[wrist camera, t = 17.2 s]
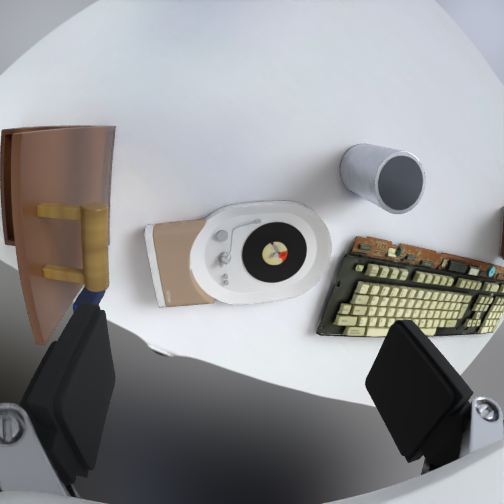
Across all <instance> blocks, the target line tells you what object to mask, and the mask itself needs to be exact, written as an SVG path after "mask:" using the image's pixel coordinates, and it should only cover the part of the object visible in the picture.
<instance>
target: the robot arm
mask: <svg viewBox="0 0 504 504" xmlns="http://www.w3.org/2000/svg"><path fill="white" fill-rule="evenodd" d="M114 385H115V371H114V366H113V360H112V354H111V348H110V342H109V335H108V328H107V320H106V313H105V311H104V310H100V307H99V305H97V304H89V303H80V304H79V305H78V307H77V309H76V310H75V312H74V314H73V315H72V317H71V318H70V320H69V322H68V324H67V325H66V327H65V329H64V330H63V332H62V334H61V336H60V337H59V339H58V341H54V342H52V344H51V345H50V347H49V348H48V350H47V352H46V354H45V355H44V357H43V359H42V361H41V363H40V365H39V366H38V368H37V370H36V372H35V374H34V376H33V378H32V380H31V382H30V384H29V386H28V388H27V390H26V392H25V394H24V396H23V398H22V400H21V402H20V404H19V406H18V405H16V404H12V403H1V404H0V504H106V503H100V502H94V501H89V500H84V499H81V497H80V495H79V494H78V492H77V491H76V489H75V487H74V486H73V483H75V480H76V475H78V476H82V477H86V478H87V476H88V471H89V470H93V469H94V468H95V464H96V459H97V455H98V449H99V445H100V441H101V436H102V432H103V428H104V424H105V419H106V415H107V411H108V407H109V404H110V400H111V396H112V392H113V389H114ZM365 385H366V389H367V391H368V392H369V394H370V396H371V398H372V400H373V402H374V404H375V405H376V407H377V409H378V411H379V413H380V415H381V417H382V419H383V420H384V422H385V424H386V426H387V428H388V430H389V432H390V434H391V436H392V438H393V439H394V442H395V444H396V445H397V447H398V449H399V451H400V453H401V455H402V456H405V458H406V460H407V462H408V463H409V462H412V461H415V460H418V459H420V458H421V457H422V456H423V455H424V457H425V461H424V465H423V469H422V473H421V475H420V476H418V477H416V478H412V479H410V480H407V481H404V482H401V483H398V484H395V485H393V486H389V487H386V488H383V489H380V490H377V491H374V492H370V493H366V494H363V495H359V496H355V497H351V498H347V499H343V500H338V501H333V502H328V503H323V504H504V420H503V414H502V410H501V408H500V406H499V405H498V404H497V403H496V402H495V401H494V400H492V399H491V398H489V397H486V396H477V397H475V398H474V399H473V401H472V402H471V403H469V401H468V400H469V399H470V397H471V396H472V394H473V391H472V390H471V389H470V388H469V386H468V385H467V384H466V383H465V381H464V380H463V379H462V378H461V376H460V375H459V374H458V373H457V371H456V370H455V369H454V368H453V367H452V365H451V364H450V363H449V362H448V361H447V359H446V358H445V357H444V356H443V355H442V354H441V352H440V351H439V350H438V349H437V348H436V347H435V345H434V344H433V343H432V342H431V341H430V340H429V338H428V337H427V336H426V335H425V334H424V333H423V332H422V330H421V329H420V328H419V327H418V326H417V325H416V324H415V323H414V322H413V321H412V320H409V319H408V320H396V321H395V322H394V324H392V325H391V326H390V328H389V330H388V333H387V335H386V337H385V340H384V342H383V344H382V346H381V349H380V351H379V353H378V355H377V357H376V359H375V361H374V363H373V366H372V368H371V370H370V372H369V374H368V376H367V378H366V381H365Z"/></svg>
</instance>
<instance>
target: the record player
mask: <svg viewBox="0 0 504 504" xmlns="http://www.w3.org/2000/svg"><path fill="white" fill-rule="evenodd" d="M145 242H146V247H147V253H148V258H149V264H150V269H151V274H152V279H153V284H154V288H155V293H156V298H157V302H158V306H159V308H161V307H175V306H187V305H199V304H210V303H214V302H215V299H217V300H219V301H221V302H224V303H228V304H234V305H243V304H255V303H264V302H273V301H280V300H286V299H291V298H295V297H297V296H300V295H302V294H304V293H305V292H307V291H308V290H310V289H311V288H312V287H313V286H315V285H316V284H317V283H318V281H319V280H320V279H321V278H322V276H323V275H324V273H325V272H326V270H327V268H328V265H329V262H330V259H331V253H332V242H331V237H330V233H329V230H328V228H327V226H326V225H325V223H324V222H323V220H322V219H321V218H320V217H319V216H318V215H317V214H316V213H315V212H313V211H312V210H311V209H310V208H308V207H306V206H305V205H302V204H300V203H297V202H293V201H267V202H253V203H242V204H234V205H229V206H225V207H222V208H220V209H218V210H216V211H215V212H213V213H212V214H210V215H209V216H208V217H207V218H206V219H199V220H188V221H178V222H168V223H159V224H149V225H147V226H146V229H145Z"/></svg>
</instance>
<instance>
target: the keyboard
mask: <svg viewBox="0 0 504 504" xmlns="http://www.w3.org/2000/svg"><path fill="white" fill-rule="evenodd" d="M338 281H341V282H340V285H339V287H336V284H337V283H338ZM472 297H473V298H472ZM471 298H472V299H471ZM503 312H504V267H500V266H496V265H492V264H487V265H486V264H484V262H480V261H476V260H472V259H468V258H463V257H459V256H455V255H450V254H446V253H441V254H439V253H436V251H433V250H428V249H424V248H419V247H415V246H410V245H405V244H399V246H393V245H392V242H391V241H386V240H382V239H377V238H372V237H367V238H362V237H356V239H355V242H354V245H353V249H352V252H351V254H350V256H349V255H345V257H344V260H343V263H342V265H341V268H340V271H339V274H338V276H337V280H336V282H335V285H334V288H333V291H332V293H331V296H330V298H329V301H328V303H327V306H326V309H325V312H324V315H323V317H322V320H321V322H320V325H319V327H318V330H317V332H316V334H319V335H321V336H346V337H386V335H387V333H388V330H389V328H390V326H391V325H392V324H394V322H395V321H396V320H408V319H409V320H412V321H413V322H414V323H415V324H416V325H417V326H418V327H419V328H420V329H421V330H422V332H423V333H424V334H425V335H426V336H449V335H468V333H469V334H482V333H492V332H494V331H495V329H496V327H497V325H498V323H499V319H500V318H502V316H503ZM322 323H325V324H324V326H323V328H320V326H321V325H322ZM457 326H458V327H457ZM476 332H477V333H476ZM320 333H323V334H320ZM461 333H467V334H461ZM329 334H344V335H329Z"/></svg>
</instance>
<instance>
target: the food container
mask: <svg viewBox="0 0 504 504" xmlns="http://www.w3.org/2000/svg"><path fill="white" fill-rule="evenodd" d="M499 257H501V258H502V259H503V260H504V207H503V208H502V227H501V239H500V249H499Z"/></svg>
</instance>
